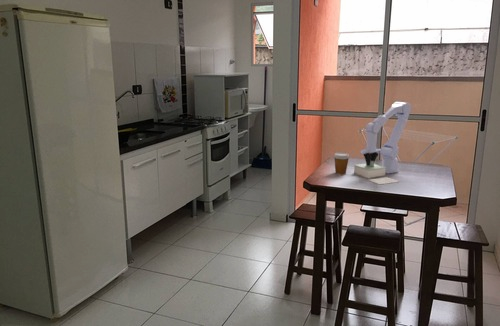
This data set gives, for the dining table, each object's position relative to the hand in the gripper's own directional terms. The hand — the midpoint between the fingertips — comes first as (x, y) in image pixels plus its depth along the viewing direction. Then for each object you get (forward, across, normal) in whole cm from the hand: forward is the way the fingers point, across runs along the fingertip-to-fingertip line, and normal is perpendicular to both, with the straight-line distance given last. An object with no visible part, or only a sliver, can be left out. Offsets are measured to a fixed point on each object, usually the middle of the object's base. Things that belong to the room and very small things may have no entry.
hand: (370, 164), depth 253 cm
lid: (+2, 0, 0) cm, 2 cm away
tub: (+6, 0, 0) cm, 6 cm away
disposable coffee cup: (+6, +14, -10) cm, 18 cm away
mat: (+6, +2, +15) cm, 16 cm away
